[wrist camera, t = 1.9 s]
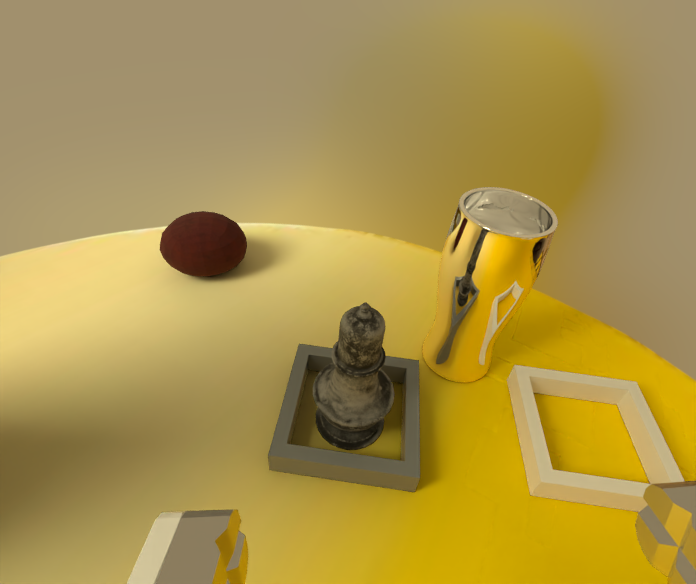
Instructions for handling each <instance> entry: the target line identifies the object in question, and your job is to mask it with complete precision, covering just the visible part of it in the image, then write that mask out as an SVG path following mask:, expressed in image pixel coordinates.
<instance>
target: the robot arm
mask: <svg viewBox="0 0 696 584" xmlns="http://www.w3.org/2000/svg"><path fill="white" fill-rule="evenodd" d="M643 498H644V500H645V501H646V502H647V504H648V505H647V506H646V507H645V508H644V509H642V510H641V511H640V512H639V513H638V516H637V520H636V524H635V527H636V532H637V538H638V541H639V544H640V546H641V548H642V551H643V553H644V554H645V556H646V557H647V559H648V561H649V562H650V564H651V565H652V566H653V567H654V568H656V569H657V570H658V571H660V572H661V573H663V574H664V575H665V576H667V577H668V583H667V584H696V481H686V482H672V483H659V484H651V485H650V486H648V487H647V488H646V489H645V492H644V496H643ZM240 523H241V519H240V515H239V512H238V510H206V511H178V512H161V514H160V515H159V516H158V517H157V518H156V520H155V521H154V523H153V525H152V528H151V530H150V532H149V534H148V537H147V539H146V541H145V543H144V546H143V548H142V550H141V552H140V555H139V557H138V559H137V561H136V564H135V566H134V568H133V570H132V573H131V575H130V577H129V579H128V582H127V584H245V580H246V574H247V564H248V548H247V541H246V537H245V535H244V534H242V533H241V532H240V531H239V528H240Z"/></svg>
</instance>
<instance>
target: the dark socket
mask: <svg viewBox="0 0 696 584" xmlns="http://www.w3.org/2000/svg"><path fill="white" fill-rule="evenodd" d="M332 349H333V348H326V347H319V346H312V345H305V344H299V346H298V349H297V353H296V356H295V360H294V364H293V367H292V371H291V374H290V378H289V382H288V385H287V389H286V393H285V396H284V400H283V403H282V407H281V411H280V414H279V418H278V422H277V425H276V429H275V432H274V436H273V440H272V443H271V447H270V451H269V454H268V459H269V470H272V471H279V472H285V473H292V474H298V475H305V476H312V477H318V478H325V479H331V480H338V481H344V482H351V483H358V484H364V485H371V486H377V487H384V488H390V489H397V490H403V491H410V492H415V490H416V487H417V485H418V482H419V480H420V424H419V360H411V359H404V358H397V357H390V356H386V358H385V363H384V365H383V367H382V370H383V371H384V372H385V373H386V375H387V376H388V377H389V378H390V380H391V382H395V383H402V384H403V390H402V428H401V461H399V460H392V459H386V458H379V457H372V456H366V455H359V454H352V453H346V452H339V451H332V450H326V449H319V448H312V447H306V446H299V445H292V444H291V440H292V436H293V432H294V428H295V423H296V419H297V415H298V411H299V407H300V402H301V398H302V394H303V390H304V386H305V381H306V377H307V373H308V370H311V371H318V372H320V371H321V370H322V369H323V368H324V367H326V366H327V365H328V364H330V363H333V360H332Z"/></svg>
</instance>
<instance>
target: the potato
mask: <svg viewBox="0 0 696 584" xmlns="http://www.w3.org/2000/svg"><path fill="white" fill-rule="evenodd" d="M246 248H247V242H246V237H245V235H244V232H243V231H242V230H241V228H240V227H239V226H238V224H237V223H236V222H234V221H232V220H230V219H229V218H227V217H225V216H224V215H220V214H217V213H213V212H204V211H202V212H192V213H189V214H186V215H183V216H181V217H179V218H177V219H176V220H174V221H173V222H172V223H171V224H170V225H169V226H168V227H167V228H166V229H165V231H164V232H163V233H162V237H161V242H160V251H161V254H162V256H163V258H164V259H165V260H166V262H167V263H168V264H169V265H170V266H171V267H173V268H175V269H177V270H178V271H180V272H182V273H185V274H188V275H192V276H212V275H218V274H221V273H224V272H227V271H229V270H231V269H232V268H234V267H236V266H237V265H238V264H239V263H240V262H241V261H242V260H243V258H244V256H245V253H246Z"/></svg>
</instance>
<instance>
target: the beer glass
mask: <svg viewBox="0 0 696 584" xmlns="http://www.w3.org/2000/svg"><path fill="white" fill-rule="evenodd" d="M557 225H558V220H557V217H556V215H555V213H554V212H553V211H552V210H551V209H550V208H549V207H548V206H547V205H545V204H544V203H543V202H541V201H539V200H537V199H535V198H534V197H531V196H529V195H527V194H524V193H521V192H518V191H514V190H509V189H504V188H495V187H486V188H485V187H484V188H476V189H473V190H470V191H468V192H466V193H464V194H463V195H462V196H461V198H460V200H459V205H458V208H457V210H456V213H455V215H454V218H453V221H452V224H451V227H450V229H449V232H448V235H447V238H446V241H445V245H444V248H443V252H442V257H441V261H440V267H439V275H438V289H437V308H436V316H435V320H434V323H433V325H432V327H431V329H430V331H429V333H428V334H427V336H426V338H425V340H424V342H423V345H422V355H423V358H424V360H425V362H426V364H427V365H428V366H429V367H430V368H431V369H432V370H433V371H434V372H435V373H436V374H438V375H439V376H441V377H443V378H445V379H448V380H451V381H454V382H462V383H467V382H473V381H476V380H479V379H480V378H482V377H483V376H484V375H485V374H486V373H487V371H488V370H489V367H490V363H491V358H492V351H493V347H494V344H495V341H496V339H497V338H498V336H499V334H500V333H501V331H502V330H503V329H504V327H505V326H506V325H507V323H508V322H509V321H510V319H511V318H512V317H513V315H514V314H515V313H516V311H517V310H518V309H519V307H520V306H521V305H522V303H523V302H524V300H525V299H526V297H527V296H528V294H529V292H530V291H531V289H532V287H533V285H534V283H535V281H536V279H537V277H538V275H539V272H540V270H541V267H542V265H543V263H544V260H545V257H546V255H547V252H548V249H549V246H550V243H551V240H552V237H553V234H554V232H555V229H556V228H557Z"/></svg>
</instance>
